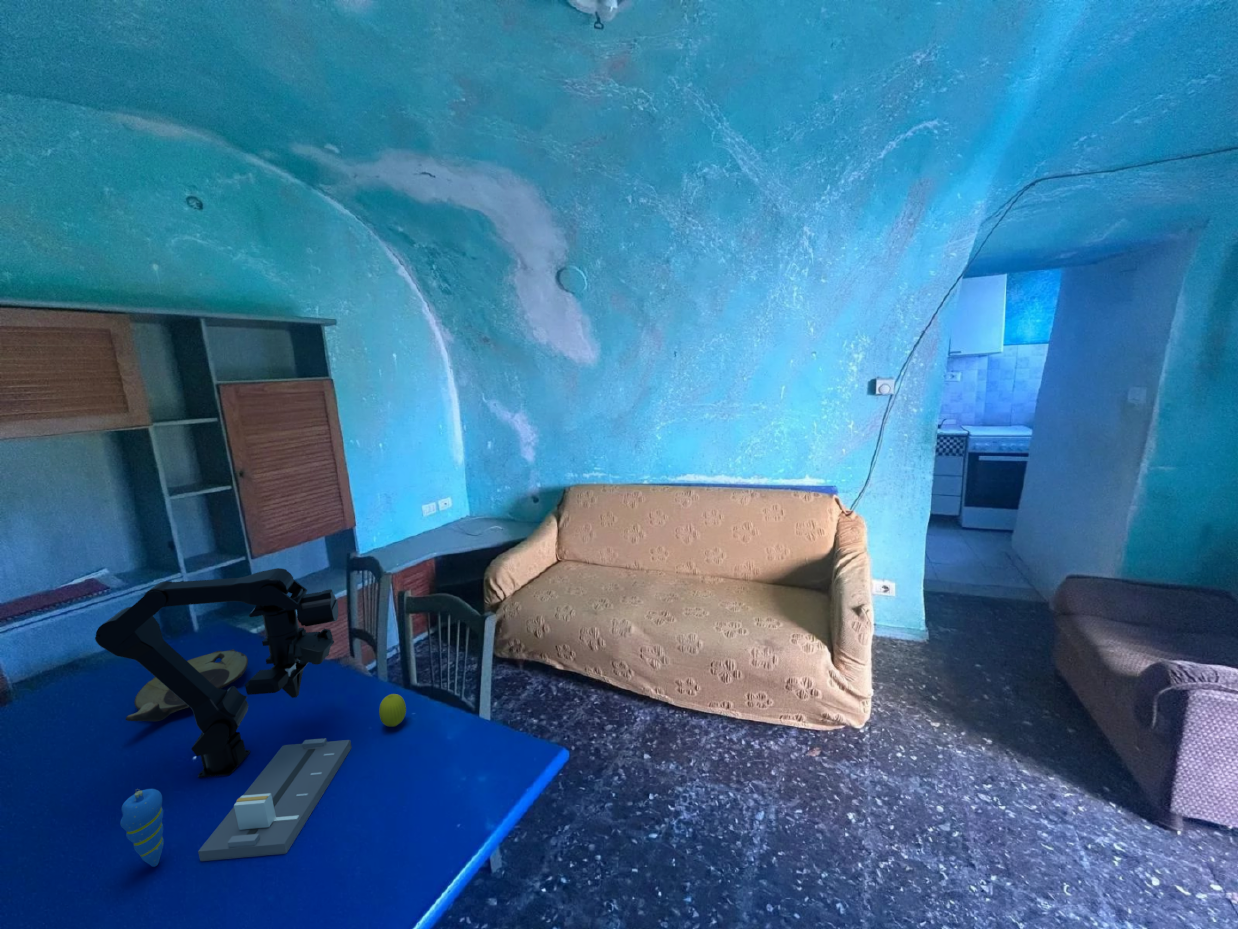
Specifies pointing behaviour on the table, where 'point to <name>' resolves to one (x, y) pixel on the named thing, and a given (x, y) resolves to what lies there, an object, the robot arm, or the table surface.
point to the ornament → (144, 824)
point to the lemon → (392, 710)
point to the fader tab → (254, 811)
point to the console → (281, 800)
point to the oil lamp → (162, 701)
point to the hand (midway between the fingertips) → (295, 696)
